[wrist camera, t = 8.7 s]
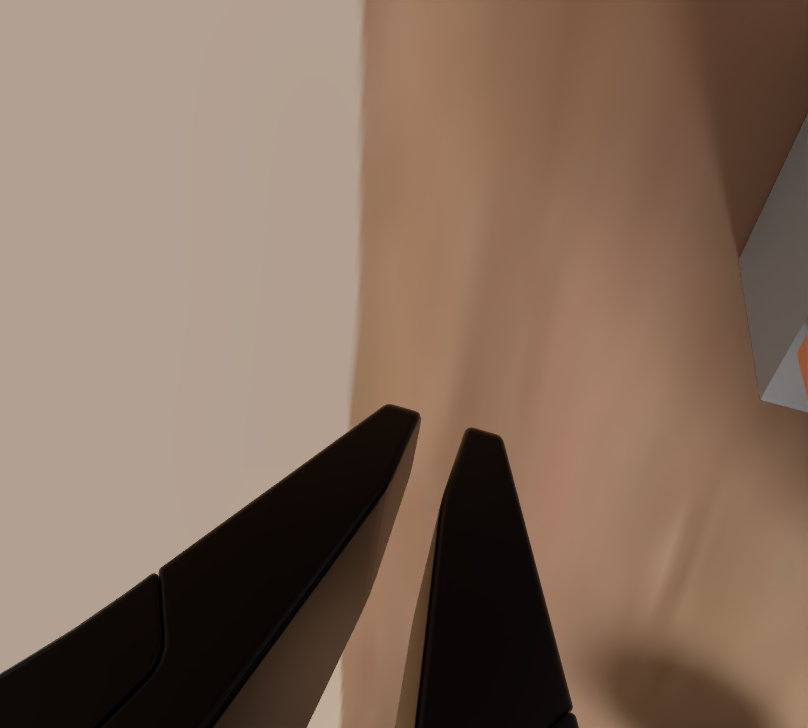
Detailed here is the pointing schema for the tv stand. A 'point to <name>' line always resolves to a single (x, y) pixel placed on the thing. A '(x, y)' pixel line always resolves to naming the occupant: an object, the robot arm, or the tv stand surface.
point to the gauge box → (780, 282)
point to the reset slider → (804, 362)
